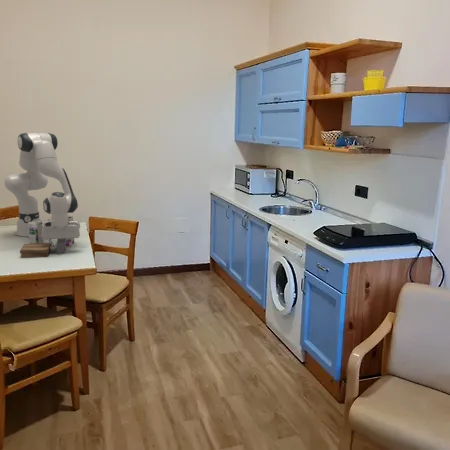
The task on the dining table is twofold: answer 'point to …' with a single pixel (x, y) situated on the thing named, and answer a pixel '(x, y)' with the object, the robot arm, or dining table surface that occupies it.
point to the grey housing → (61, 246)
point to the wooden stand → (35, 250)
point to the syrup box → (35, 232)
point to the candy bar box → (70, 219)
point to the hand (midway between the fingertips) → (61, 246)
